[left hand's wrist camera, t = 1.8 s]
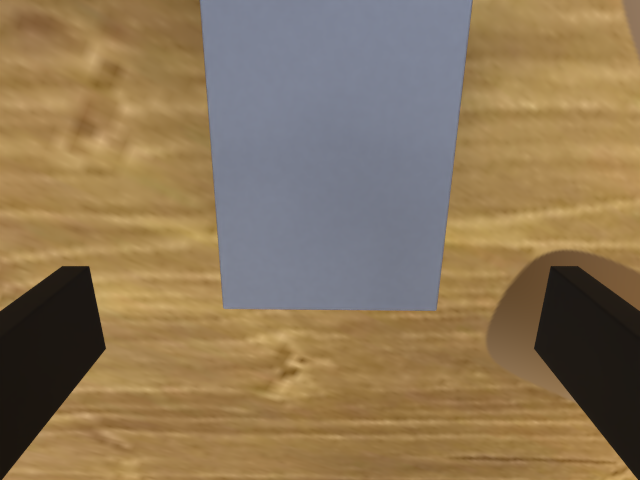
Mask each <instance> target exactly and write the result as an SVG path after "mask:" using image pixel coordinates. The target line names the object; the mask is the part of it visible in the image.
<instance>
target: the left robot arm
mask: <svg viewBox="0 0 640 480" xmlns="http://www.w3.org/2000/svg"><path fill="white" fill-rule="evenodd" d="M105 349H106V347H105V342H104V337H103V332H102V327H101V322H100V317H99V312H98V307H97V303H96V298H95V293H94V288H93V283H92V278H91V273H90V268H89V266H62V267H61V268H59V269H58V270H56V271H55V272H54V273H52V274H51V275H50V276H48V277H47V278H45V279H44V280H43V281H41V282H40V283H39V284H37V285H36V286H34V287H33V288H32V289H30V290H29V291H28V292H26V293H25V294H23V295H22V296H21V297H19V298H18V299H17V300H15V301H14V302H12V303H11V304H10V305H8V306H7V307H6V308H4V309H3V310H1V311H0V480H2V479H3V478H4V476H5V475H6V474H7V473H8V471H9V470H10V469H11V468H12V466H13V465H14V464H15V463H16V461H17V460H18V459H19V458H20V456H21V455H22V454H23V453H24V451H25V450H26V449H27V447H28V446H29V445H30V444H31V442H32V441H33V440H34V439H35V437H36V436H37V435H38V434H39V432H40V431H41V430H42V429H43V427H44V426H45V425H46V424H47V422H48V421H49V420H50V418H51V417H52V416H53V415H54V413H55V412H56V411H57V410H58V408H59V407H60V406H61V405H62V403H63V402H64V401H65V400H66V398H67V397H68V396H69V395H70V393H71V392H72V391H73V389H74V388H75V387H76V386H77V384H78V383H79V382H80V381H81V379H82V378H83V377H84V376H85V374H86V373H87V372H88V371H89V369H90V368H91V367H92V366H93V364H94V363H95V362H96V361H97V359H98V358H99V357H100V355H101V354H102V353H103V352H104V350H105ZM534 349H535V350H536V352H537V353H538V354H539V355H540V357H541V358H542V359H543V360H544V362H545V363H546V364H547V366H548V367H549V368H550V369H551V371H552V372H553V373H554V374H555V376H556V377H557V378H558V379H559V381H560V382H561V383H562V384H563V386H564V387H565V388H566V389H567V391H568V392H569V393H570V395H571V396H572V397H573V398H574V400H575V401H576V402H577V403H578V405H579V406H580V407H581V408H582V410H583V411H584V412H585V413H586V415H587V416H588V417H589V418H590V420H591V421H592V422H593V424H594V425H595V426H596V427H597V429H598V430H599V431H600V432H601V434H602V435H603V436H604V437H605V439H606V440H607V441H608V442H609V444H610V445H611V446H612V447H613V449H614V450H615V451H616V453H617V454H618V455H619V456H620V458H621V459H622V460H623V461H624V463H625V464H626V465H627V466H628V468H629V469H630V470H631V471H632V473H633V474H634V475H635V476H636V478H637V479H638V480H640V311H639V310H637V309H636V308H634V307H633V306H632V305H630V304H629V303H628V302H626V301H625V300H623V299H622V298H621V297H619V296H618V295H617V294H615V293H614V292H612V291H611V290H610V289H608V288H607V287H606V286H604V285H603V284H601V283H600V282H599V281H597V280H596V279H594V278H593V277H592V276H590V275H589V274H588V273H586V272H585V271H584V270H582V269H581V268H579V267H578V266H551V268H550V273H549V278H548V283H547V288H546V293H545V298H544V303H543V308H542V312H541V317H540V322H539V327H538V332H537V337H536V342H535V347H534Z"/></svg>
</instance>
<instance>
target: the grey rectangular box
mask: <svg viewBox="0 0 640 480" xmlns="http://www.w3.org/2000/svg"><path fill="white" fill-rule="evenodd" d="M472 1H473V0H200V9H201V22H202V35H203V48H204V61H205V74H206V88H207V101H208V114H209V127H210V140H211V153H212V166H213V179H214V193H215V206H216V219H217V232H218V245H219V258H220V271H221V284H222V298H223V308H224V309H298V310H415V311H435V310H436V309H437V302H438V293H439V284H440V276H441V267H442V259H443V250H444V241H445V233H446V224H447V216H448V207H449V199H450V190H451V181H452V173H453V164H454V156H455V147H456V138H457V130H458V121H459V113H460V104H461V95H462V87H463V78H464V70H465V61H466V53H467V44H468V35H469V27H470V18H471V10H472Z"/></svg>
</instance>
